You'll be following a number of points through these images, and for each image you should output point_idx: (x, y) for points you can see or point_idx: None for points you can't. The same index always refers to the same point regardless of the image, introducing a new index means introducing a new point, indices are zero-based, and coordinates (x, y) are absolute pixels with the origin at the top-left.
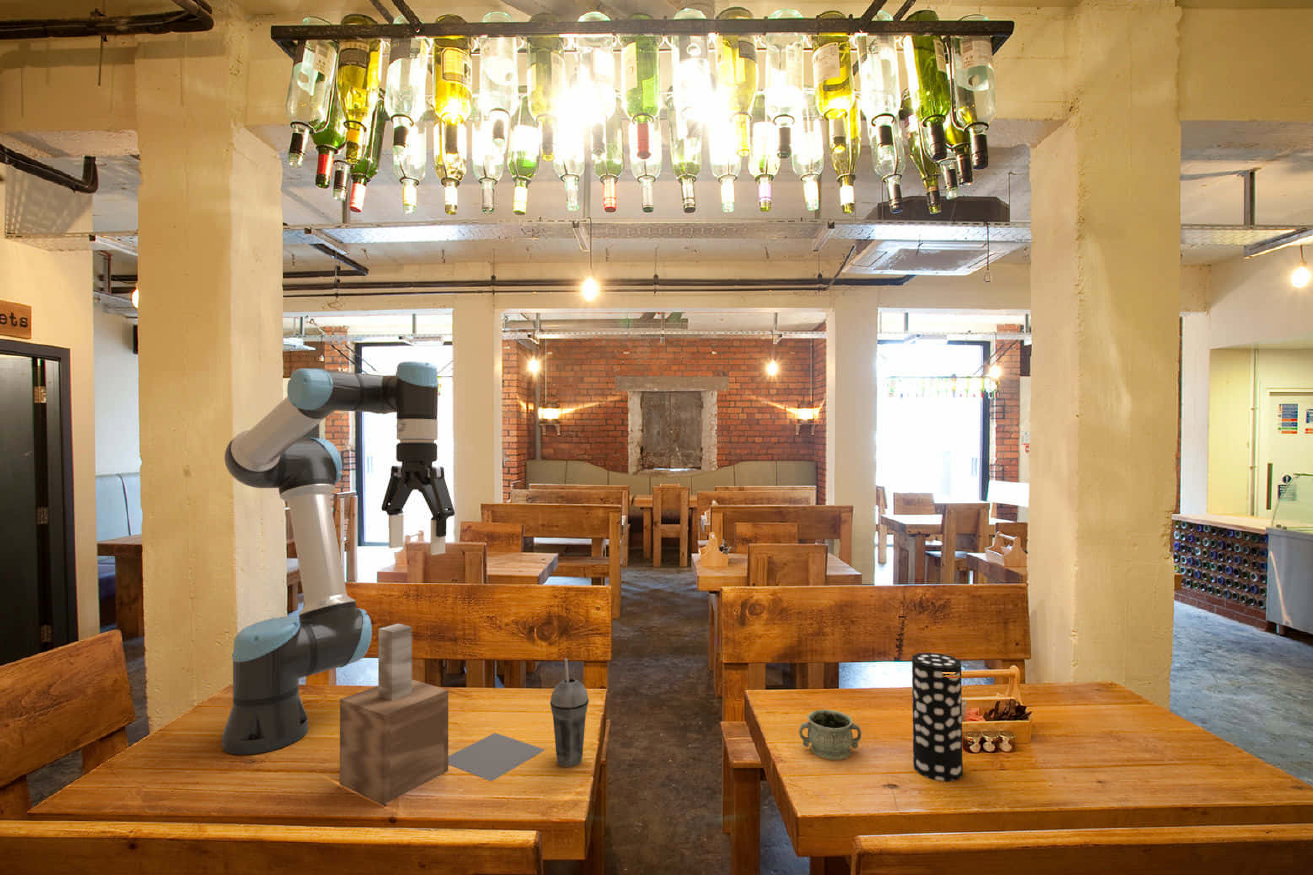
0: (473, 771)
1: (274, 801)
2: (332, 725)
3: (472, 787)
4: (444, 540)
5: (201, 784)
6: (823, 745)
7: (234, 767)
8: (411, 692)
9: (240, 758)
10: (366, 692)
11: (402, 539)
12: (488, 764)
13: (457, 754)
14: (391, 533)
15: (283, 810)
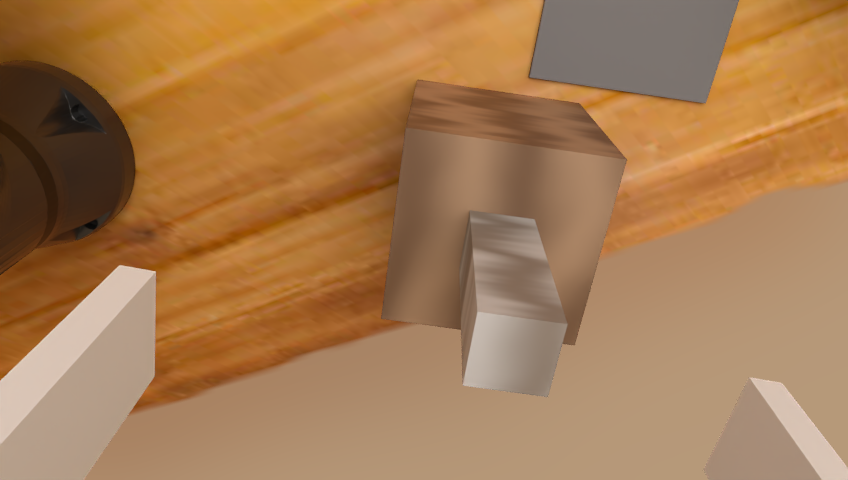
0: (641, 85)
1: (342, 309)
2: (107, 31)
3: (670, 131)
4: (840, 471)
5: (164, 322)
6: None
7: (144, 263)
8: (534, 220)
9: (111, 235)
10: (407, 263)
11: (125, 318)
12: (657, 42)
13: (551, 32)
14: (86, 470)
15: (385, 321)
